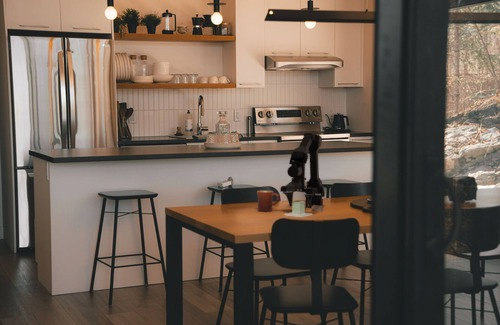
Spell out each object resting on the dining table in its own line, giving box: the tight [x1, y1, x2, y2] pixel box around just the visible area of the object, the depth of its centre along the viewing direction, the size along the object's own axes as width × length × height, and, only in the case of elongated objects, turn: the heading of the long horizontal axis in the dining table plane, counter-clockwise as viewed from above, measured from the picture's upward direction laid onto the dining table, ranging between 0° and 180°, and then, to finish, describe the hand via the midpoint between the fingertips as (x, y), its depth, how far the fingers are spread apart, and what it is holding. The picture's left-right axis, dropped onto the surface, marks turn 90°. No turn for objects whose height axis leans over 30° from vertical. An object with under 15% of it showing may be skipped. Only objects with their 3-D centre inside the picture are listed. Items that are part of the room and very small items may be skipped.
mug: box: [256, 190, 280, 213], centre depth 363 cm, size 12×9×10 cm
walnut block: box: [310, 205, 324, 213], centre depth 366 cm, size 5×5×3 cm
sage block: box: [291, 200, 306, 214], centre depth 351 cm, size 4×4×6 cm
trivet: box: [284, 211, 313, 218], centre depth 351 cm, size 10×10×1 cm
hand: (298, 207), depth 351 cm, fingers open, 9 cm apart
